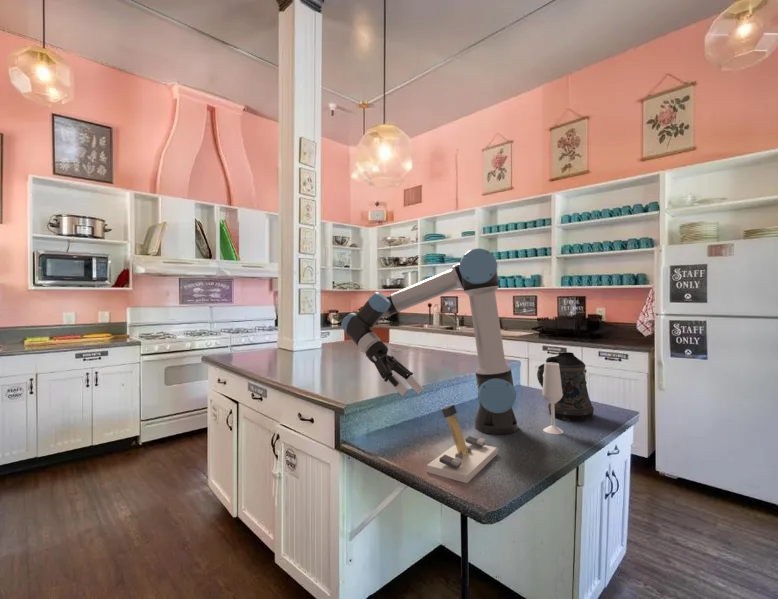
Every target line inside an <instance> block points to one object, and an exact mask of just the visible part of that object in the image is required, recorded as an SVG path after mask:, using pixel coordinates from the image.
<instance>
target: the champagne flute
mask: <svg viewBox="0 0 778 599" xmlns="http://www.w3.org/2000/svg"><path fill="white" fill-rule="evenodd" d="M544 364H545V365H544V373H543V387H542V392H541V393H542V396H543V398H544V400H546V401H547V403H548V404H549V403H551V415H550V418H551V419H550V421H551V422H550V423H551V424H550V425H549V426H546V427H544V428H543V432H545V433H547V434H549V435H550V434H551V435H561V434H563V433H564V430H563V429H561V428H559V427H558V426H556V420H555V419H556V418H555V409H554V404H555V403H557V402H558V401H559V400H560V399H561V398H562V396H563V393H562V385H561V377H560V369H559V364H558V363H551V362H548V363H546V362H544Z"/></svg>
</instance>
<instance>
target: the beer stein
mask: <svg viewBox="0 0 778 599" xmlns="http://www.w3.org/2000/svg"><path fill="white" fill-rule="evenodd" d="M548 362H551V363H558V364H559V369H560V377H561V385H562V393H563V396H562V398H561V399H560V400H559V401H558V402H557V403H555V404H554V409H555V419H558V420H560V421H566V422H573V423H579V422H581V423H582V422H583V423H584V422H588V421H591V420H593V416H594V411H595V410H594V407H593V404H592V403H591V402H592V401H591V399H590V396H589V392H588V386H587V381H586V375H585V370H586V364H585V363H584V361H582V360H581V359H579V358H578V357H576V356H575V354H574V352H568V351H565V352H564V351H561V352H559V353H558V354H557V355H555V356H550V357H547V358H546V360H545V363H548ZM545 363H543V364H540V365H539V366H538V367H537V373H536V376H537V377H536V378H537V381H538V382H539V385H540V387H541V388H543V378H544V365H545ZM547 408H548V411H549V415H550V416H551V403H549V402H548V406H547Z"/></svg>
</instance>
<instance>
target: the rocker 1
mask: <svg viewBox="0 0 778 599" xmlns="http://www.w3.org/2000/svg"><path fill="white" fill-rule="evenodd" d="M439 462H441V463H443V464H446V465H448V466H450V467H452V468H454V469H457V468H459V467H460V466H461V463H462V459H461V458H458V457H456V458H455V459H454V458H452V457H450V456H447V455H444V456H442V457H441V458H440V461H439Z"/></svg>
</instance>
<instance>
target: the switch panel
mask: <svg viewBox="0 0 778 599" xmlns="http://www.w3.org/2000/svg"><path fill="white" fill-rule="evenodd" d="M465 444H466V447H467V450H468V453H467V454H466V455H464V456H463V457H462V454H459V453H458V451H457V448H456V445H455V444H453V445H452V446H451V447H450V448H448V449H447V450H445V451H444V452H442V453H441V454H439V455H438V456H437V457H436V458H434V459H433V460H432V461H430V462H429V463H428V464H426V472H427V473H429V474H433V475H437V476H440V477H442V478H446V479H450V480H453V481H457V482H462V483H464V484H468V483H469V482H471V480H472V479H473V478H474V477H476V475H477V474H478V473H479V472H480V471H481V470H482V469H484V468H485V467H486V465H488V464H489V463H490V462H491V461H492V460H493V459H494V458H495V457H496V456H497V455H498V447H495V446H490V445H486V444H485V445H484V446H483V447H482V448H479V447H477V446H474V445H472V444H469V443H467V442H465ZM444 455H447V456H450V457H452V458H454V459H455V458H456V457H458V458H461V459H462V463H461V466H460V467H459V468H457V469H454V468H452V467H450V466H448V465H446V464H443V463H441V462H439V461H440V458H441V457H442V456H444Z"/></svg>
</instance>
